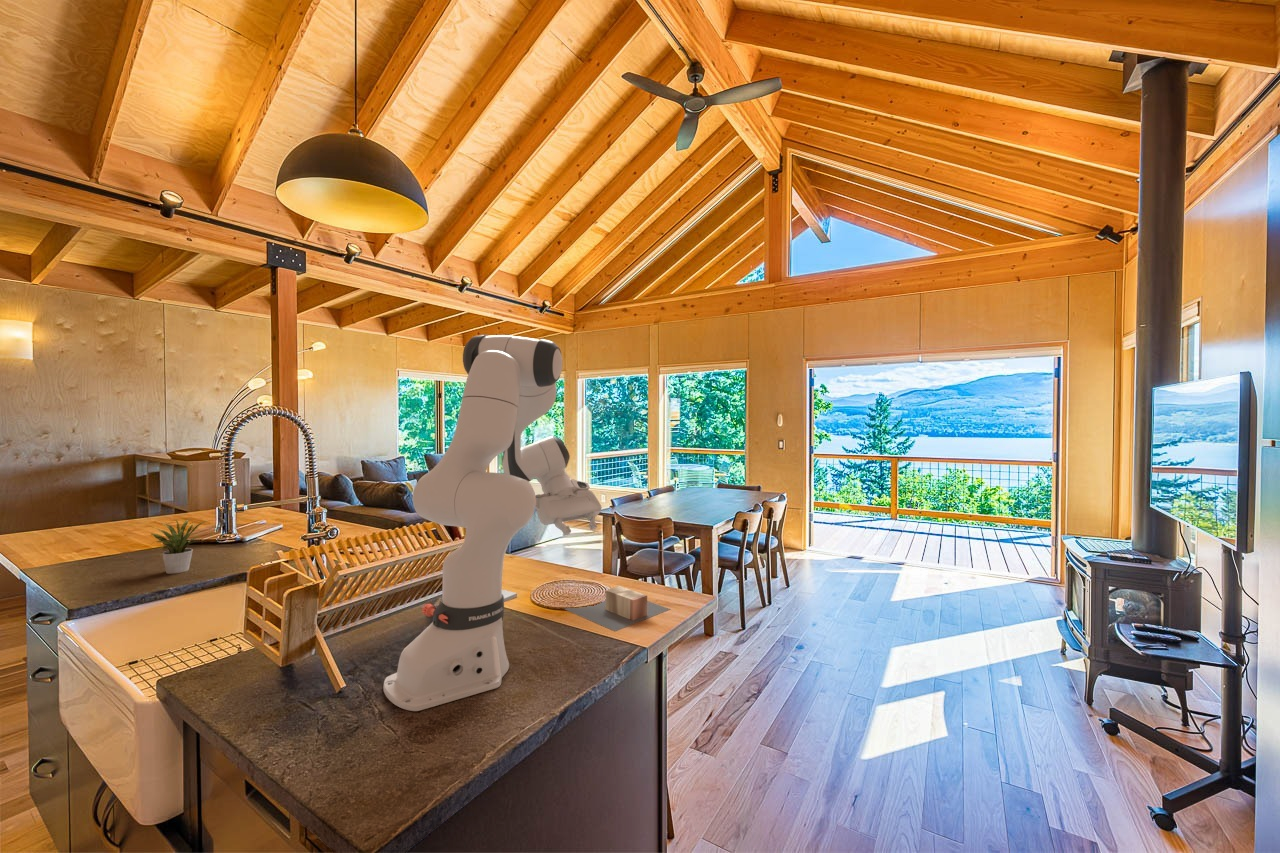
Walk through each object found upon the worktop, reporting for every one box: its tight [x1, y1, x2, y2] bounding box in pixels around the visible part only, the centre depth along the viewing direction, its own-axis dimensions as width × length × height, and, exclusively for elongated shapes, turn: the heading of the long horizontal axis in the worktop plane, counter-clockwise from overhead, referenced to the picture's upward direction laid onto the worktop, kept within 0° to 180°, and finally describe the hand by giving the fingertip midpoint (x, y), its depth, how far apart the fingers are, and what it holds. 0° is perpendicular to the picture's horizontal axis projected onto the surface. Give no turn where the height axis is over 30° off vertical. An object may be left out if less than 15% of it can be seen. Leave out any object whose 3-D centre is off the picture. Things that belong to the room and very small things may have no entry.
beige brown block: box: [605, 585, 648, 620], centre depth 130 cm, size 5×5×10 cm
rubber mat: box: [564, 600, 671, 632], centre depth 132 cm, size 20×19×1 cm
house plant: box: [149, 519, 212, 575], centre depth 160 cm, size 14×14×16 cm
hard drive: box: [502, 588, 518, 603], centre depth 138 cm, size 2×8×12 cm
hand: (581, 531), depth 143 cm, fingers open, 8 cm apart
